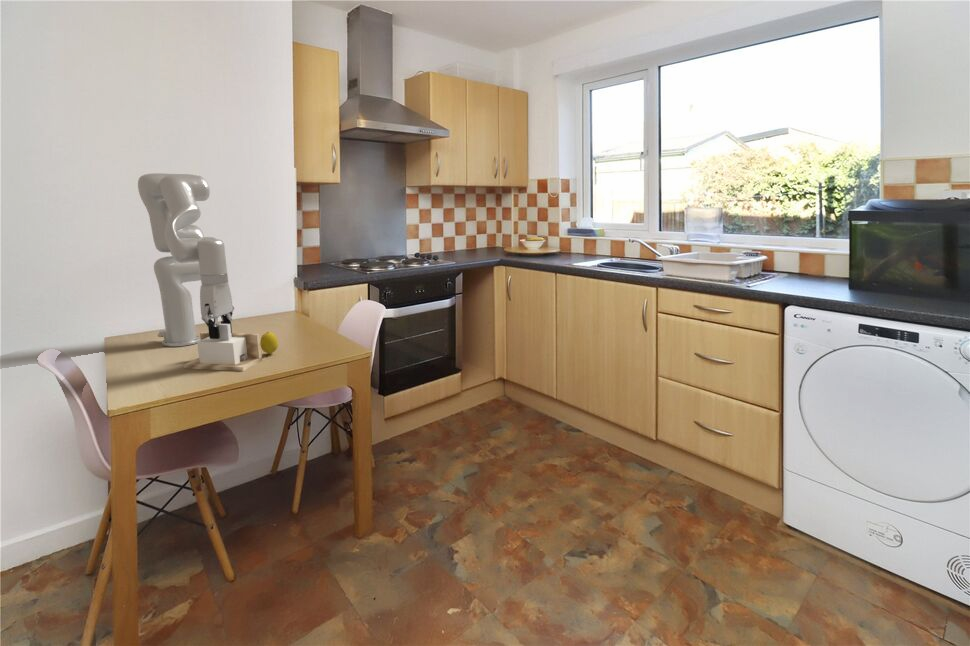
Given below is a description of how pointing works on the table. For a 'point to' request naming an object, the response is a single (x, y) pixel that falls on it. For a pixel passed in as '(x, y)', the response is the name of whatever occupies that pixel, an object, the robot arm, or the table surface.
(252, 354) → the cleat board
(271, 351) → the lemon
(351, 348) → the table surface
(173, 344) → the robot arm
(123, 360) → the table surface
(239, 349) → the white stepped block
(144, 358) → the table surface
